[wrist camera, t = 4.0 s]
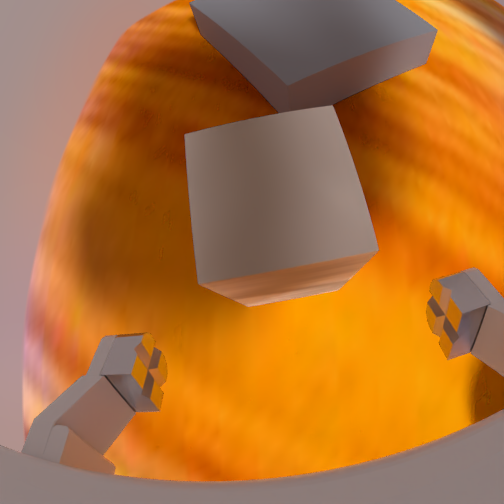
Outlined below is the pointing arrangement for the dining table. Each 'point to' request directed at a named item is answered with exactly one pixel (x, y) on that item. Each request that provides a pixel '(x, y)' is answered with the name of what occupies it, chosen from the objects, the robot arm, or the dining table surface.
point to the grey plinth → (314, 45)
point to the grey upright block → (276, 207)
